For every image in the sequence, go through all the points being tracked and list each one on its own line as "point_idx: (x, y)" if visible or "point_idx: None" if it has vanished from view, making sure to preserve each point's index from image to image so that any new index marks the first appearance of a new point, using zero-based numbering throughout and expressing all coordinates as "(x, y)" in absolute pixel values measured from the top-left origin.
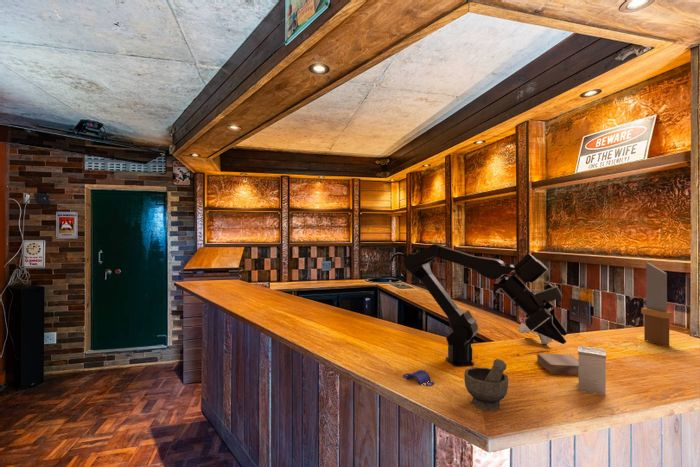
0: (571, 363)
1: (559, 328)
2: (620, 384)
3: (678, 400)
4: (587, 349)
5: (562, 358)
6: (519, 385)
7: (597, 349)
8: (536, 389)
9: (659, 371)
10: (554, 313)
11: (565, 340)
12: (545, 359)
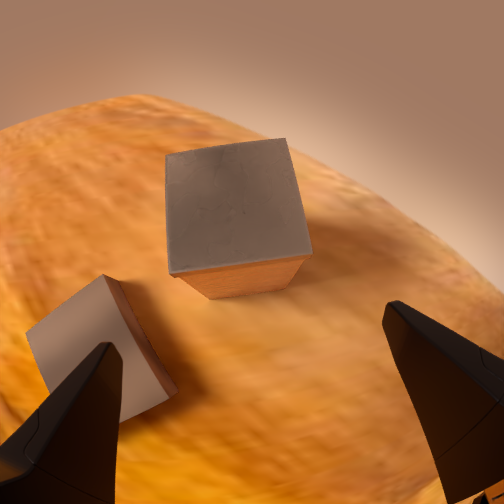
0: (104, 329)
1: (99, 403)
2: (142, 197)
3: (182, 104)
4: (227, 216)
5: (70, 361)
6: (372, 433)
7: (188, 177)
8: (371, 389)
9: (26, 156)
10: (7, 483)
11: (402, 304)
12: (122, 418)
